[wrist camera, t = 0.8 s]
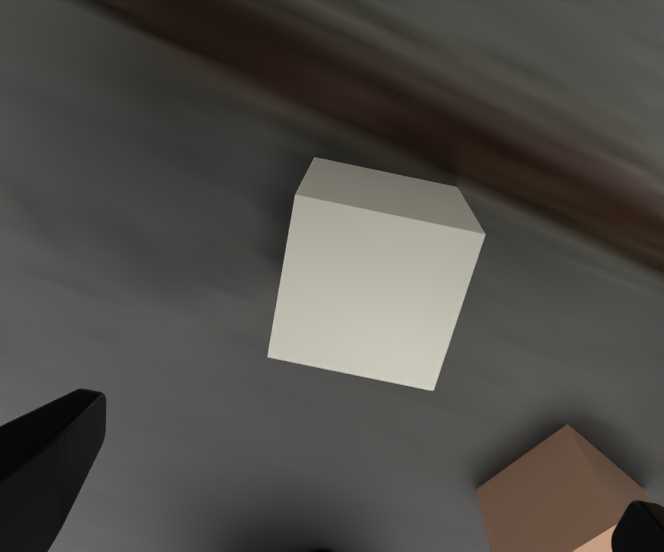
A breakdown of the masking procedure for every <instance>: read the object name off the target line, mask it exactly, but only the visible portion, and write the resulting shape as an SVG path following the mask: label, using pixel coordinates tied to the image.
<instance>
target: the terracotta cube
mask: <svg viewBox="0 0 664 552" xmlns="http://www.w3.org/2000/svg"><path fill="white" fill-rule="evenodd" d="M476 492H477V496H478V500H479V504H480V508H481V513H482V517H483V521H484V525H485V529H486V534H487V538H488V542H489V546H490V551H491V552H612V547H611V537H612V533H613V531H614V529H615V527H616V525H617V524H618V522H619V520H620V519H621V517H622V515H623V513H624V512H625V510H626V508H627V506H628V505H629V503H631V502H632V501H634V500H641V501H646V502H651V500H650V498H649V497H648V495H647V493H646V492H645V490H644V489H643V488H642V487H641V486H639V485H638V484H637V483H636V482H635V481H634V480H632V479H631V478H630V477H629V476H628V475H627V474H625V473H624V472H623V471H622V470H621V469H620V468H618V467H617V466H616V465H615V464H614V463H613V462H612V461H610V460H609V459H608V458H607V457H606V456H605V455H603V454H602V453H601V452H600V451H599V450H598V449H596V448H595V447H594V446H593V445H592V444H591V443H589V442H588V441H587V440H586V439H585V438H584V437H582V436H581V435H580V434H579V433H578V432H577V431H575V430H574V429H573V428H572V427H571V426H570V425H568V424H567V425H565V426H564V427H562V428H561V429H560V430H558V431H557V432H555V433H554V434H553V435H551V436H550V437H548V438H547V439H546V440H544V441H543V442H541V443H540V444H539V445H537V446H536V447H534V448H533V449H532V450H530V451H529V452H527V453H526V454H525V455H523V456H522V457H520V458H519V459H518V460H516V461H515V462H513V463H512V464H511V465H509V466H508V467H506V468H505V469H504V470H502V471H501V472H499V473H498V474H497V475H495V476H494V477H492V478H491V479H490V480H488V481H487V482H485V483H484V484H483V485H481V486H480V487H478V488H477V489H476ZM651 503H652V502H651Z"/></svg>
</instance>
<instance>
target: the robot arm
mask: <svg viewBox="0 0 664 552" xmlns="http://www.w3.org/2000/svg"><path fill="white" fill-rule="evenodd" d="M105 432H106V397H105V395H104V394H103V393H102V392H98V391H93V390H88V389H78V390H75V391H73V392H71V393H69V394H67V395H65V396H63V397H60V398H58V399H56V400H54V401H52V402H50V403H48V404H46V405H44V406H42V407H40V408H37V409H35V410H33V411H31V412H29V413H27V414H25V415H23V416H21V417H19V418H17V419H15V420H12V421H10V422H8V423H6V424H4V425H2V426H0V552H47V551H48V550H49V548H50V547H51V545H52V543H53V542H54V540H55V538H56V537H57V535H58V533H59V531H60V530H61V528H62V526H63V524H64V522H65V520H66V518H67V516H68V514H69V512H70V510H71V508H72V506H73V504H74V502H75V500H76V498H77V496H78V493H79V491H80V489H81V487H82V485H83V483H84V481H85V479H86V477H87V475H88V473H89V471H90V469H91V467H92V465H93V463H94V461H95V459H96V457H97V454H98V452H99V450H100V448H101V446H102V444H103V441H104V437H105ZM611 547H612V552H664V507H662V506H661V505H659V504H656V503H651V502H646V501H641V500H634V501H632V502H631V503H629V505H628V506H627V508H626V510H625V512H624V513H623V515H622V517H621V519H620V520H619V522H618V524H617V525H616V527H615V529H614V531H613V533H612V537H611ZM319 552H329V551H324V550H323V551H319Z"/></svg>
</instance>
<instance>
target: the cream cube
mask: <svg viewBox="0 0 664 552" xmlns="http://www.w3.org/2000/svg"><path fill="white" fill-rule="evenodd" d="M485 235H486V234H485V233H484V231H483V229H482V227H481V226H480V224H479V222H478V221H477V219H476V217H475V216H474V214H473V212H472V211H471V209H470V207H469V206H468V204H467V202H466V200H465V199H464V197H463V195H462V194H461V192H460V190H459V189H458V187H455V186H450V185H445V184H440V183H436V182H431V181H426V180H421V179H417V178H412V177H407V176H402V175H397V174H393V173H388V172H383V171H378V170H374V169H369V168H364V167H359V166H355V165H350V164H345V163H340V162H336V161H331V160H326V159H321V158H317V157H314V159H313V161H312V163H311V165H310V166H309V168H308V170H307V172H306V174H305V176H304V178H303V180H302V182H301V184H300V186H299V188H298V190H297V192H296V194H295V198H294V204H293V210H292V216H291V222H290V227H289V233H288V239H287V245H286V251H285V257H284V263H283V268H282V274H281V280H280V286H279V292H278V298H277V304H276V309H275V315H274V321H273V327H272V333H271V339H270V345H269V350H268V356H267V357H269V358H274V359H279V360H284V361H289V362H294V363H299V364H304V365H308V366H313V367H318V368H323V369H328V370H333V371H338V372H343V373H347V374H352V375H357V376H362V377H367V378H372V379H377V380H382V381H387V382H391V383H396V384H401V385H406V386H411V387H416V388H421V389H426V390H430V391H434V388H435V385H436V382H437V379H438V376H439V373H440V370H441V367H442V364H443V361H444V358H445V355H446V352H447V349H448V346H449V343H450V340H451V337H452V334H453V331H454V328H455V325H456V322H457V319H458V316H459V313H460V310H461V307H462V304H463V301H464V298H465V295H466V292H467V289H468V286H469V283H470V280H471V277H472V274H473V271H474V268H475V265H476V262H477V259H478V256H479V253H480V250H481V247H482V244H483V241H484V238H485Z"/></svg>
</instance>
